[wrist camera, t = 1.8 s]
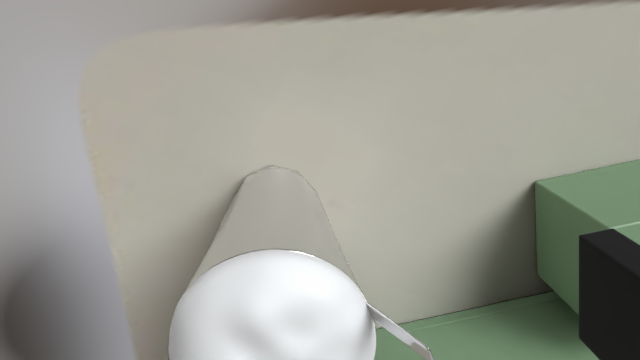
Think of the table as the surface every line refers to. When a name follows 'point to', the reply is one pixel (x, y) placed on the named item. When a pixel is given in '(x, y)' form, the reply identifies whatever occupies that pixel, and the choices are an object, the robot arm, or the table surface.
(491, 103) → the table surface
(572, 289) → the green block
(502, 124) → the table surface
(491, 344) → the green bin
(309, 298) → the milkshake
